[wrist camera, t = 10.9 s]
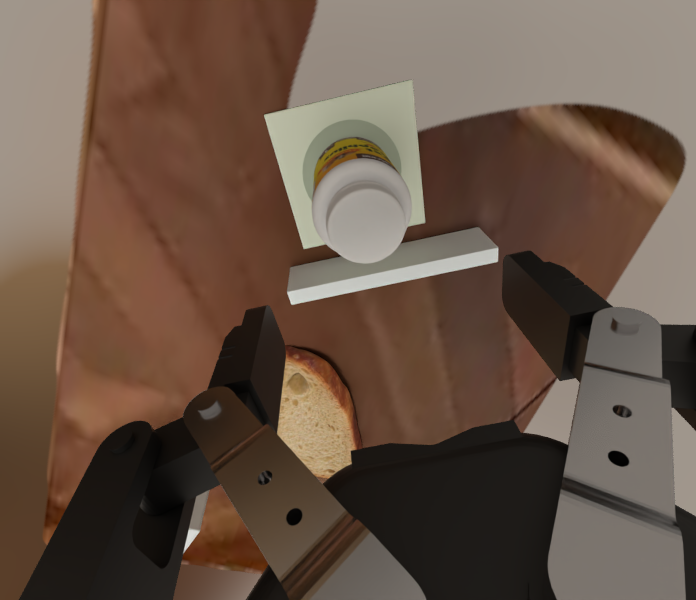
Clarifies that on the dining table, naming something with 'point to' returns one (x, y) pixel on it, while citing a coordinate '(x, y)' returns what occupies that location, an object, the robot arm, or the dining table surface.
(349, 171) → the supplement bottle
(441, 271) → the low wall
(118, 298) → the dining table surface
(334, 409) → the bread slice
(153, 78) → the dining table surface
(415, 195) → the pad
